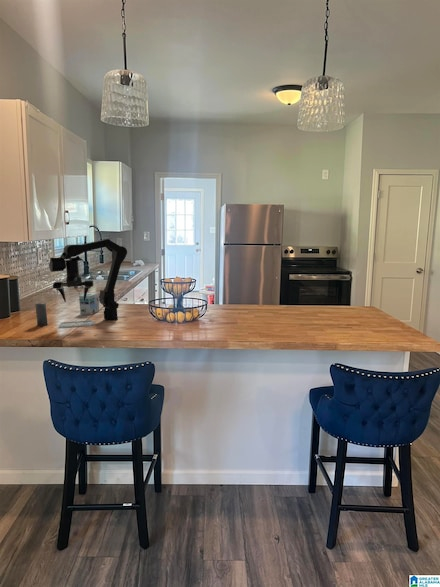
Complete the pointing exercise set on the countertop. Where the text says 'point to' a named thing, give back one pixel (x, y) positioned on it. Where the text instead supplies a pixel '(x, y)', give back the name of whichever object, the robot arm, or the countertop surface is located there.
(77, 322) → the label plate
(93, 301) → the light bulb box
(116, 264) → the robot arm
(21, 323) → the countertop surface
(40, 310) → the post
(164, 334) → the countertop surface
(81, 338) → the countertop surface
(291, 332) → the countertop surface
